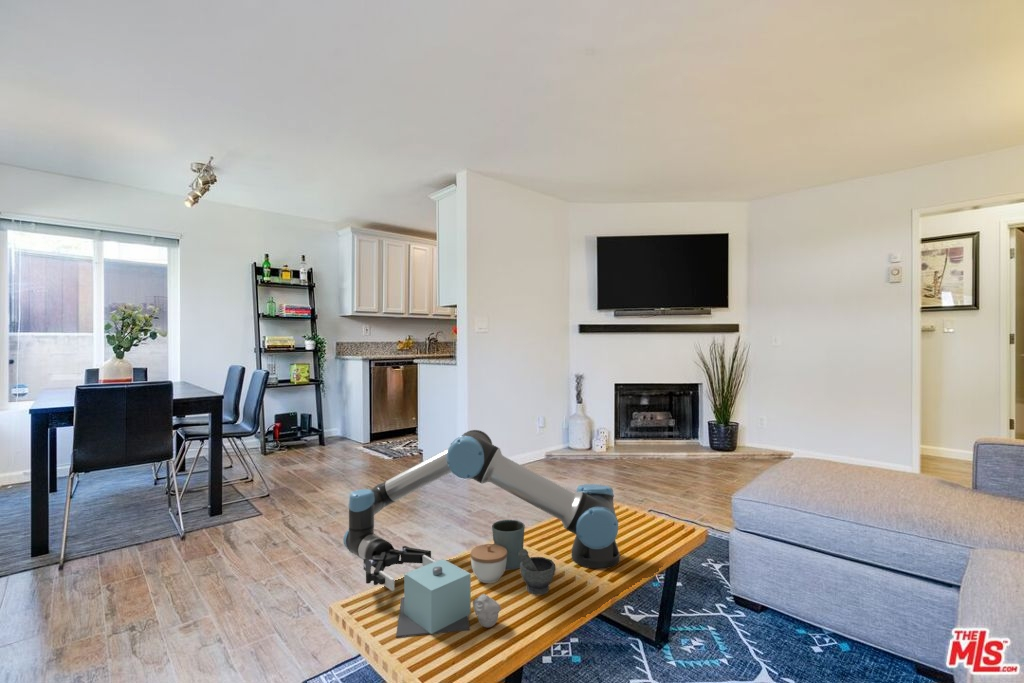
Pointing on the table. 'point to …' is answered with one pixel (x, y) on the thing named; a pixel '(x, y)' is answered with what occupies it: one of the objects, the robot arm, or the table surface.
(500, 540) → the grey green cylindrical pot
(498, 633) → the table surface
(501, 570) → the lidded jar
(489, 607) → the grey lumpy rounded piece
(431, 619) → the cover tub
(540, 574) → the mortar and pestle
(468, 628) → the rubber mat
